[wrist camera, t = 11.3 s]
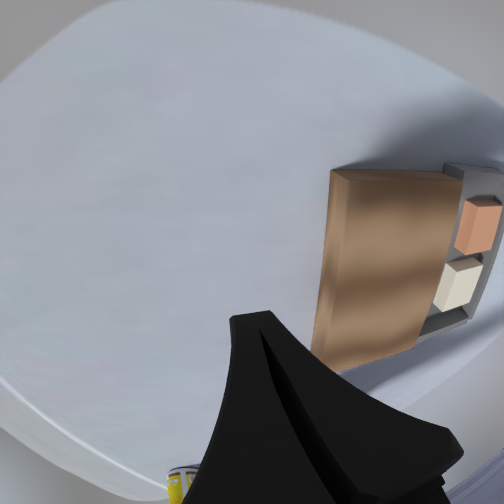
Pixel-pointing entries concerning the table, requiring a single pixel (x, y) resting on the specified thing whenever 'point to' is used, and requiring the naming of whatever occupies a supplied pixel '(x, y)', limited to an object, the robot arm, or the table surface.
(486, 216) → the tile terracotta
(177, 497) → the supplement bottle
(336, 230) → the plate
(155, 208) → the table surface
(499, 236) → the box
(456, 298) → the tile cream
